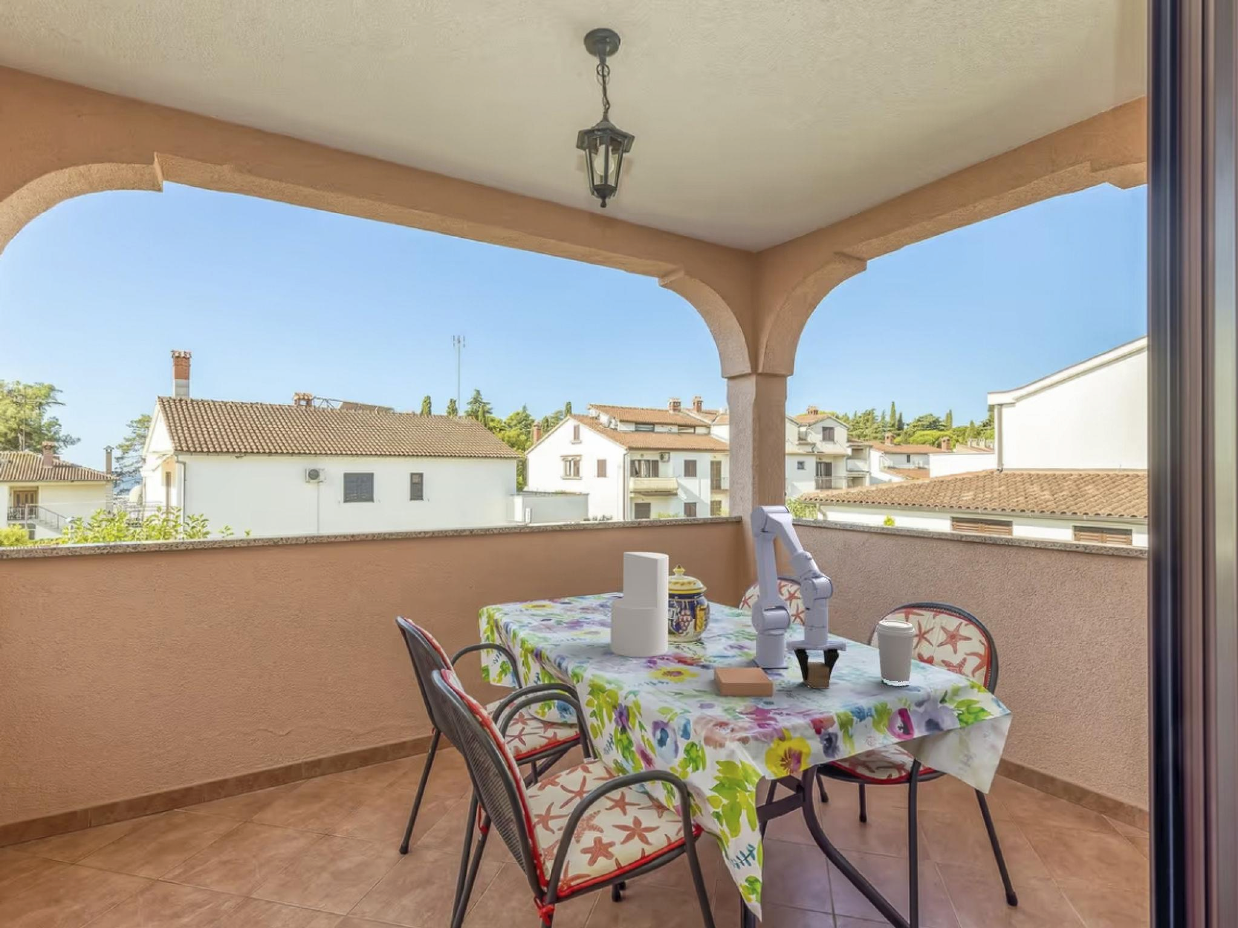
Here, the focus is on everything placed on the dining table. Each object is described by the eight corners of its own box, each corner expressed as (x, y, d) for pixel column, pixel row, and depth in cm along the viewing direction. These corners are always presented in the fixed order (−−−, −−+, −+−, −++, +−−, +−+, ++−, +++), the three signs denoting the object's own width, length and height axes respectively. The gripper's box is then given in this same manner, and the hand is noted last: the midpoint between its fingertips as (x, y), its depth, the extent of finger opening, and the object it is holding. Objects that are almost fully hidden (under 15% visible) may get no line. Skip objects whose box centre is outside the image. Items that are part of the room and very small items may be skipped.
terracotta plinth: (714, 679, 165) (714, 667, 165) (760, 679, 165) (760, 667, 165) (722, 695, 153) (722, 682, 153) (772, 695, 153) (772, 682, 153)
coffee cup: (868, 682, 164) (868, 623, 164) (884, 674, 170) (884, 617, 170) (906, 691, 157) (907, 630, 157) (921, 682, 163) (921, 623, 164)
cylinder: (645, 638, 205) (645, 550, 205) (679, 651, 190) (680, 556, 191) (599, 646, 195) (600, 554, 195) (632, 660, 181) (633, 561, 181)
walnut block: (802, 681, 164) (803, 661, 164) (822, 681, 164) (822, 661, 164) (809, 688, 159) (809, 667, 159) (829, 688, 159) (829, 667, 159)
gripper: (792, 628, 157) (791, 684, 157) (850, 628, 157) (850, 684, 157) (784, 621, 164) (783, 674, 164) (840, 622, 165) (840, 675, 164)
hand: (815, 679), depth 161 cm, fingers closed on walnut block, 5 cm apart
